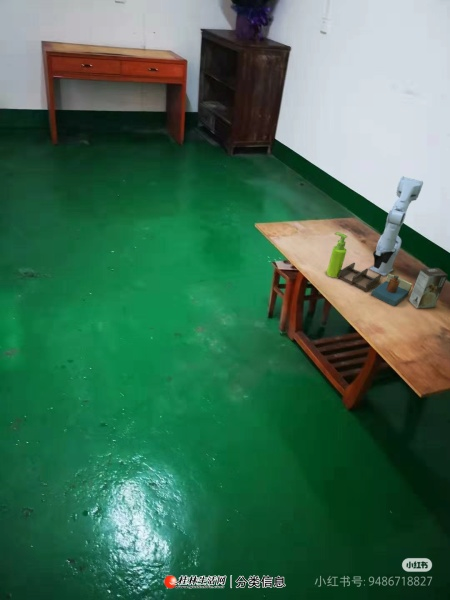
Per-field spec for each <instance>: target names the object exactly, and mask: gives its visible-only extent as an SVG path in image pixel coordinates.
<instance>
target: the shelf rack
mask: <svg viewBox="0 0 450 600" xmlns="http://www.w3.org/2000/svg"><path fill="white" fill-rule="evenodd" d="M355 266H356V262H352V263H351V264H349V265H347V266H345V267H344V268H342V269H341V270H340V271H339V275H338V277H337V279H338V280H341V281H343V282H345V283H347V284H349V285H350V286H353V287H355V288H358V289H360V290H361V291H363V292H365V293H366V292H368V291H369V290H371V289H372V288H374V287H375V286H376V285H378V284H380V281H381V279H382V276H383V275H381V274H379V275H377V276H375V277H372V276H369V275H367V274H368V271H369V268H365V269H363V270H362V271H358V270H357V269H355ZM351 272H352V273H354V274H356V275H354V276H352V278H351V280H350V279H348V278H346V277H345V276H346V275H348V274H350V273H351ZM364 279H367V280H369V281H367V283H365V286H364V285H363V286H362V285H361V284H359V283H358V282H360V281H361V280H364Z"/></svg>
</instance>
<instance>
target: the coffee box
mask: <svg viewBox="0 0 450 600" xmlns="http://www.w3.org/2000/svg"><path fill="white" fill-rule="evenodd" d="M448 276H449V275H448V274H447V273H446V272H445V271H443V270H442V269H441V268H439V267H432V268H431V267H428V268H420V270H419V272H418V275H417V278H416V281H415V283H414V286H413V288H412V291H411V294H410V296H409V299H408V301H409V302H410V303H411V305H413V306H414V307H415V308H416V309H428V308H435V307H436V305H437V302H438V300H439V297H440V295H441V293H442V290H443V288H444V285H445V284H446V280H447V279H448Z"/></svg>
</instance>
